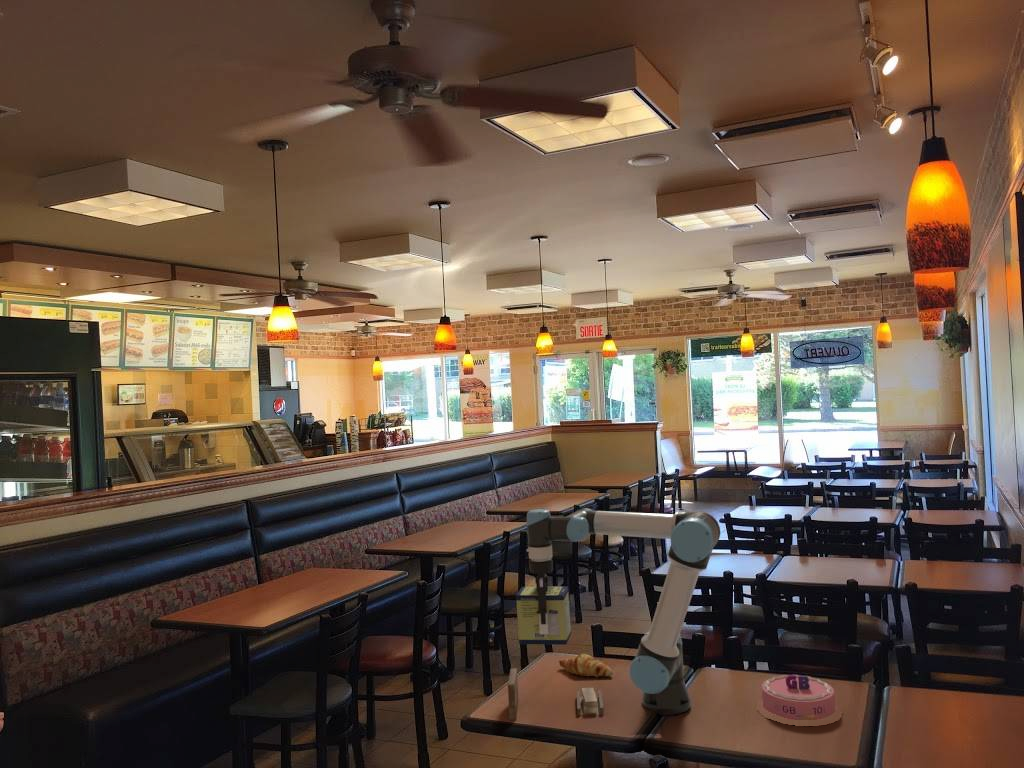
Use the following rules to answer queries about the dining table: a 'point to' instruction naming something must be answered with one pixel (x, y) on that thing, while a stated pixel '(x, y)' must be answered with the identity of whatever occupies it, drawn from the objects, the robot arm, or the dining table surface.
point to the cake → (798, 697)
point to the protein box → (555, 611)
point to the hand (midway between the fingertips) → (544, 628)
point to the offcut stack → (589, 700)
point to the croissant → (586, 666)
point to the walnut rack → (515, 700)
